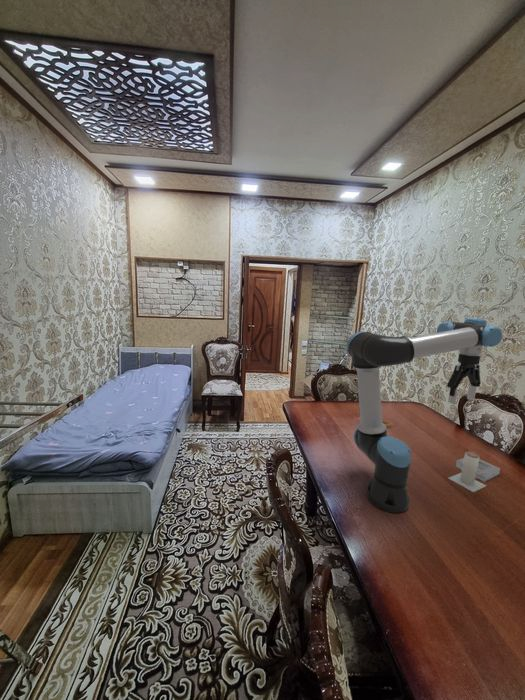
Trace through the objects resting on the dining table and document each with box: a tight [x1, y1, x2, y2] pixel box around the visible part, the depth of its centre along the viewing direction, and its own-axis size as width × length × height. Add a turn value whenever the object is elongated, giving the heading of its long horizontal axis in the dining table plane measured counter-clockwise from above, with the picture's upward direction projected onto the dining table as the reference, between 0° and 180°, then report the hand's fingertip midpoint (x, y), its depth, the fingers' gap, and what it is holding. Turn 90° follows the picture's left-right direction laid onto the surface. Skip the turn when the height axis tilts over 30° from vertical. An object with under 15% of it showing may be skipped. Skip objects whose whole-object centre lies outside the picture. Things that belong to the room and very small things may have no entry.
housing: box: [455, 457, 501, 482], centre depth 131 cm, size 12×12×4 cm
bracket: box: [382, 419, 394, 429], centre depth 174 cm, size 18×8×7 cm, turn 88°
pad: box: [447, 472, 487, 493], centre depth 122 cm, size 10×10×1 cm
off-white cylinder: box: [460, 451, 480, 486], centre depth 121 cm, size 5×5×13 cm
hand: (461, 401), depth 125 cm, fingers open, 13 cm apart
